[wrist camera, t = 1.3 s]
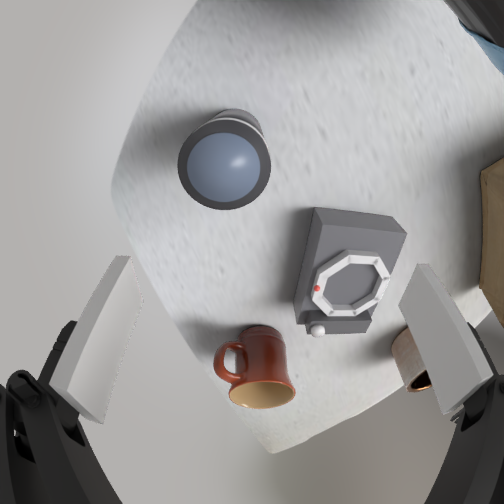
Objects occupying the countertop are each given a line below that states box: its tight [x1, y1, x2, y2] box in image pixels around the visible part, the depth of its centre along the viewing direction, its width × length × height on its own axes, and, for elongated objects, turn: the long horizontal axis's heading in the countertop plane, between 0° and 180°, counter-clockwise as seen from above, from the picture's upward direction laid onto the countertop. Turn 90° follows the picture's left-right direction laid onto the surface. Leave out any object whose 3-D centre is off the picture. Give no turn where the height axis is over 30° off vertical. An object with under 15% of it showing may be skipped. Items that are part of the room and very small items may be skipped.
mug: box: [213, 326, 295, 409], centre depth 36 cm, size 12×9×10 cm
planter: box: [391, 327, 432, 393], centre depth 39 cm, size 11×11×10 cm
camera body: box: [293, 207, 407, 337], centre depth 30 cm, size 14×10×7 cm
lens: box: [178, 109, 271, 210], centre depth 19 cm, size 5×5×12 cm
